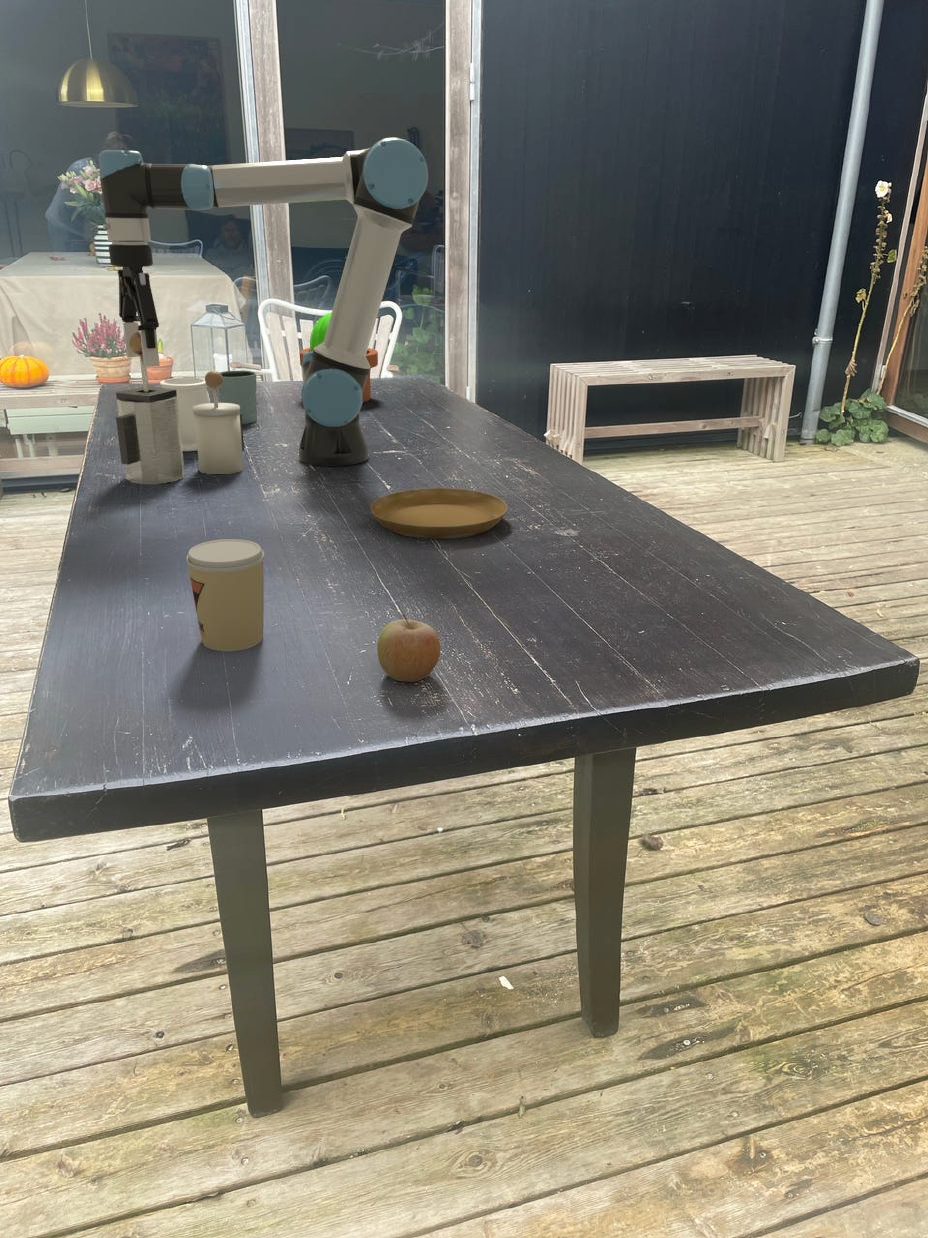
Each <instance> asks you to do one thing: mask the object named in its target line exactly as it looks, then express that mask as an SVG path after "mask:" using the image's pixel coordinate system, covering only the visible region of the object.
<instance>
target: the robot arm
mask: <svg viewBox="0 0 928 1238" xmlns="http://www.w3.org/2000/svg"><path fill="white" fill-rule="evenodd" d="M98 163H99V165H98V166H99V178H98V179H99V181H100V188H101V193H102V194H101V195H102V202H103V208H104V209H103V210H104V218H105V223H103V224H102V227H103V230H106V232H107V233H106V234H107V235H106V236H107V240H108V241H109V242H111V244H109V246H108V253H109V254H108V255H109V260H110V261H109V262H110V264H111V266H113V267H122V268H118V269H117V275H118V292H119V293H118V307H119V308H118V309H119V312H118V315H119V318H121V321H122V326H123V334H124V343H125V351H126V357H127V358H136V357H137V358H138V357H139V358H140V355H137V354H135V353H134V352H132V350H131V349H130V346H129V339H130V337H131V336H132V335H133V334H134V333H136V332H140V334H141V343H142V351H143V360H144V366H145V367H146V368H147V367H160V356H159V346H158V345H159V344H158V337H157V328H159V327H160V324H159V320H158V316H157V310H156V306H155V301H154V297H153V292H152V287H151V281H150V274H149V273H148V272H144V270H143V267H151V266H153V264H154V261H153V251H152V246H151V245H150V244H149V242H151V241H152V240H151V239H152V238H151V230H150V222H149V221H150V220H149V215H148V209H151V210H156V209H157V210H158V209H160V210H161V209H162V210H184V211H185V210H187V211H188V210H189V211H203V210H210V209H216V208H225V207H226V208H227V207H245V206H258V205H259V206H261V205H262V206H263V205H279V204H294V203H297V204H298V203H310V202H313V203H314V202H325V201H326V202H328V201H329V202H330V201H341V200H342V201H343V200H346V201H348V202H349V203H350V204H351V205H352V207H353V209H354V211H355V212H356V214H357V220H356V223H355V228H354V229H353V230H354V232H353V234H352V238H351V242H350V245H349V249H348V252H347V256H346V260H345V264H344V268H343V271H342V274H341V278H340V282H339V286H338V289H337V292H336V296H335V300H334V304H333V307H332V310H331V311H332V314H331V318H330V321H329V325H328V328H327V332H326V336H325V339H324V342H323V343H322V344H320V345H318V346H316V347H314V350H313V352H306V353H304V355H303V363H302V366H301V368H302V371H303V372H302V373H303V385H302V389H301V393H300V396H301V403H302V406H303V408H304V415H305V416H304V417H305V425H304V429H303V432H302V437H301V440H300V443H299V448H298V456H299V458H298V459H299V461H301V463H306V464H308V465H314V466H321V467H323V466H324V467H340V466H342V467H343V466H344V467H345V466H351V465H356V464H361V463H364V462H366V461H368V459H369V448H368V447H369V446H368V444H367V441H366V438H365V436H364V435H365V434H364V432H363V430H362V426H361V423H360V422H361V421H360V412H361V409H362V407H363V401H362V399H363V395H362V394H363V391H364V387H365V384H366V380H367V377H368V373H369V370H370V371H371V368H370V364H369V362H368V360H367V358H366V353H367V350H368V348H369V347H370V342H371V338H372V335H373V332H374V329H375V326H376V321H377V318H378V314H379V311H380V307H381V305H382V304H381V303H382V301H383V297H384V295H385V291H386V287H387V284H388V280H389V278H390V274H391V271H392V266H393V263H394V260H395V256H396V254H397V249H398V248H399V247H398V246H399V243H400V241H401V236H402V234H403V232H405V231H406V230H409V229H410V228H412V226H413V224H414V220H415V217H416V215H417V214H416V213H417V211H418V207H419V203H420V200H421V199H422V197H423V196H424V194H425V192H426V189H427V187H428V182H429V171H428V165H427V162H426V158H425V157H424V154H423V153H422V152H421V151H420V149H419V148H418V147H417V146H415V144H413V143H412V142H410V141H408V140H406V139H402V138H399V137H396V136H395V137H393V136H392V137H386V138H382V139H381V140H378V141H377V142H376V143H375V144H373V145H372V146H371V147H368V148H365V149H360V150H350V151H349V150H348V151H346V152H345V153H344V155H343V156H341V157H329V158H328V157H327V158H311V159H296V160H294V159H293V160H278V161H265V162H263V161H262V162H260V161H259V162H249V163H231V164H215V165H214V164H213V165H204V164H203V165H202V164H194V163H188V164H185V163H184V164H182V163H179V164H177V163H175V164H174V163H160V164H159V163H155V164H154V163H148V162H144V160H143V157H142V153H141V152H140V151H137V150H122V149H116V150H115V149H105V150H102V151H100V153H99V155H98Z"/></svg>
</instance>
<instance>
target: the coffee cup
mask: <svg viewBox="0 0 928 1238" xmlns="http://www.w3.org/2000/svg"><path fill="white" fill-rule="evenodd" d="M185 561H186V565H187V566H188V570H189V571H188V572H189V578H190V582H191V588H192V589H191V590H192V596H193V600H194V606H195V607H194V608H195V613H196V618H197V623H198V629H199V635H200V640H201V642H202V645H203V646H204V647H205V648H207V649H209V650H211V651H216V652H225V653H226V652H238V651H243V650H247V649H250V648H253V647H255V646H258V645H259V644H260V643H261V642H262V640H263V638H264V622H265V621H264V615H265V614H264V607H265V606H264V605H265V604H264V601H265V600H264V598H265V597H264V593H265V592H264V587H265V586H264V582H265V580H264V578H265V575H264V574H265V573H264V561H265V551H264V550H263V549H262V547H261V546H260V545H259V544H258V543H256V542H254V541H252V540H246V539H241V538H240V539H239V538H238V539H237V538H236V539H235V538H226V539H225V538H224V539H215V540H209V541H205V542H201V543H198V544H196V545H194V546H192V547H191V548H190V549H189V550H188V554H187V556H186V559H185Z"/></svg>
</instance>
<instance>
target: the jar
mask: <svg viewBox="0 0 928 1238" xmlns="http://www.w3.org/2000/svg"><path fill="white" fill-rule="evenodd" d="M207 387H208V386H207V385H206V383H205V378H200V377H199V378H198V377H176V378H169V379H164V380H162V381H160V388H163V389H173V390H176V393H177V401H178V411H179V421H180V431H181V441H182V451H183V452H198V449H197V439H196V428H195V418H194V414H193V407H194V406H196V405H200V404H207V403H211V400H210V395H209V392H208V389H207Z"/></svg>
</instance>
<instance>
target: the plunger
mask: <svg viewBox="0 0 928 1238" xmlns="http://www.w3.org/2000/svg"><path fill="white" fill-rule="evenodd" d="M129 346H130V349H131V350H132V352H134V353H135V354H137V355H140V357H139V361H140V371H141V380H142V381H141V382H142V387H143V390H144V393H149V387H150V386H149V380H148V379H149V378H148V371H147V367H145V366H144V360H143V351H142V343H141V334H140V331H139V332H136V333H134V334H133V335H132V336H131V337H130V339H129Z"/></svg>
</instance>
